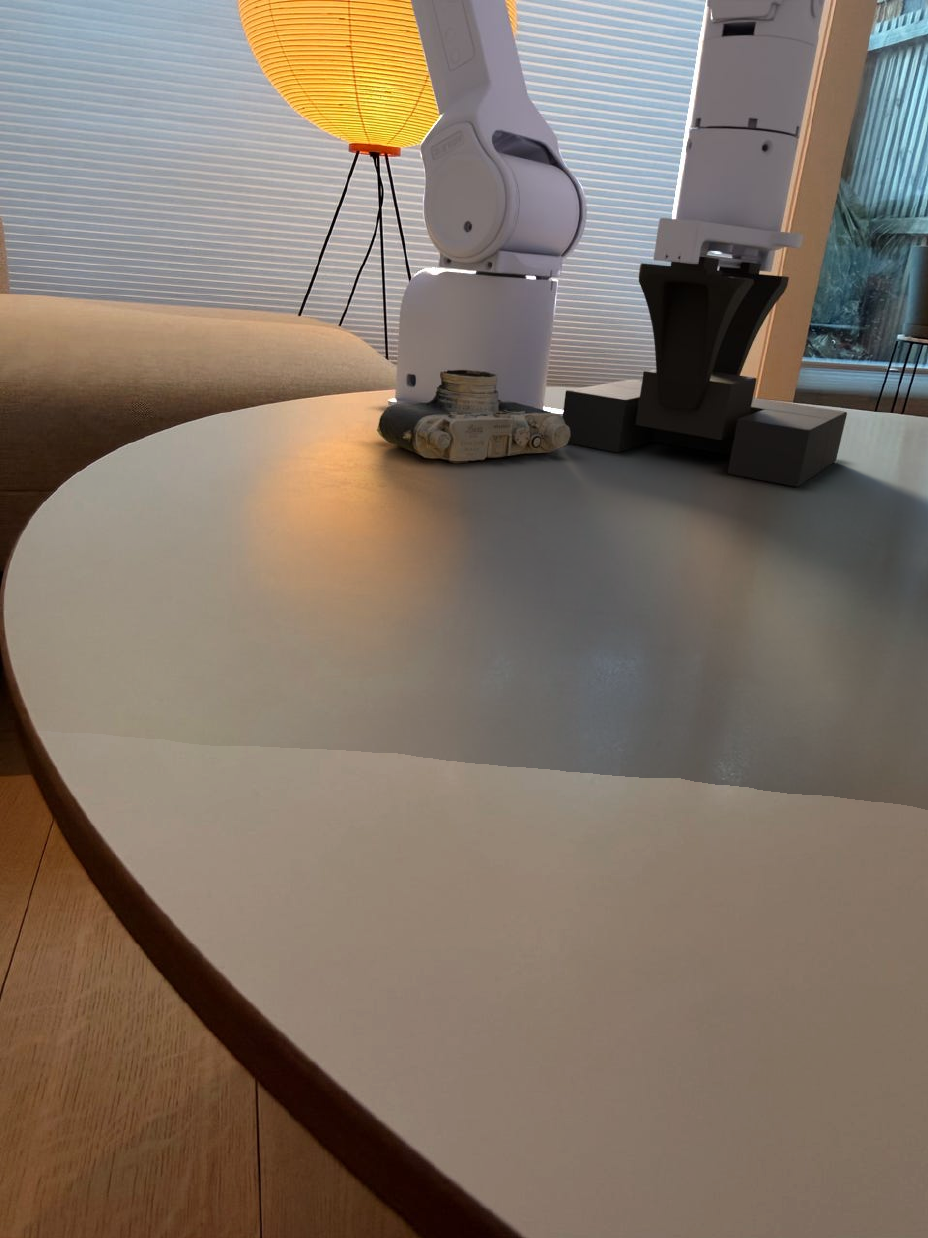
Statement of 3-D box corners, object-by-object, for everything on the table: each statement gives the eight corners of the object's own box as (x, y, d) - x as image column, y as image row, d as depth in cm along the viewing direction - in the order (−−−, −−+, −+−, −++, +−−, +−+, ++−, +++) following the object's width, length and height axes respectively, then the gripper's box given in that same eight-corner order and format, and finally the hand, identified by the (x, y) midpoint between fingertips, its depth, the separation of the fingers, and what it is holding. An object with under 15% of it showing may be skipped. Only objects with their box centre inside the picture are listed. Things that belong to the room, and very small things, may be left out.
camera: (579, 456, 52) (588, 378, 50) (419, 466, 46) (424, 380, 45) (524, 436, 56) (531, 364, 54) (370, 444, 50) (374, 364, 48)
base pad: (559, 441, 55) (565, 390, 54) (624, 423, 64) (630, 378, 62) (797, 487, 49) (810, 430, 48) (836, 461, 57) (847, 411, 56)
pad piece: (635, 425, 53) (643, 370, 52) (665, 416, 57) (674, 365, 56) (720, 440, 50) (731, 384, 49) (746, 430, 54) (757, 377, 53)
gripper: (784, 114, 40) (725, 428, 45) (848, 156, 52) (796, 402, 57) (632, 112, 44) (593, 405, 49) (725, 152, 55) (685, 385, 60)
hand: (694, 403), depth 53 cm, fingers closed on pad piece, 5 cm apart
